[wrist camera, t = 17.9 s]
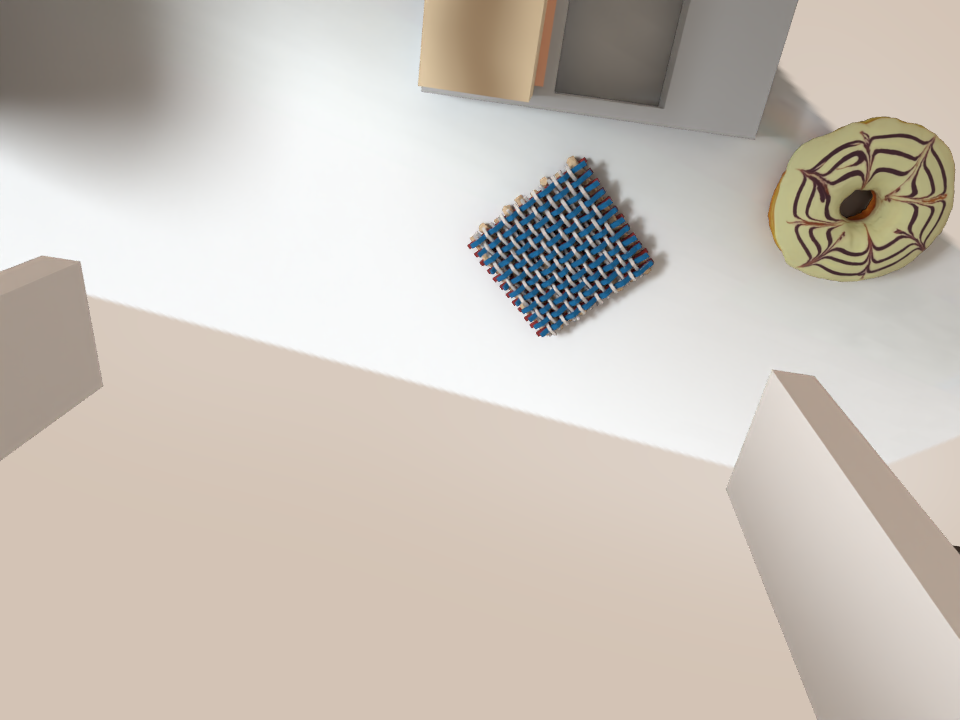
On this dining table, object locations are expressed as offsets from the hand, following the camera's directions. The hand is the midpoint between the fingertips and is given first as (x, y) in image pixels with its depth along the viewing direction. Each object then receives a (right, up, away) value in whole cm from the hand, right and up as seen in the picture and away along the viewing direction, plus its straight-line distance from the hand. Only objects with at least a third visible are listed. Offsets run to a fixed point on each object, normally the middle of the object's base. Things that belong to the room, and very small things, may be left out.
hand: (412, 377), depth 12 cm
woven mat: (+7, +9, +35) cm, 36 cm away
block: (+2, +21, +25) cm, 33 cm away
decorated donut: (+27, +12, +30) cm, 42 cm away
